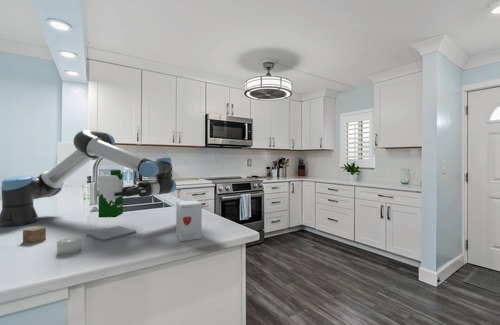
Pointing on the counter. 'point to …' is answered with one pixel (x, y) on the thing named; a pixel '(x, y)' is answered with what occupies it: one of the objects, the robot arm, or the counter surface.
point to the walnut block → (34, 234)
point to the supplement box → (188, 220)
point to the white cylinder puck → (68, 246)
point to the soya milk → (107, 184)
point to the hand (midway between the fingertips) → (100, 194)
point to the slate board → (111, 233)
